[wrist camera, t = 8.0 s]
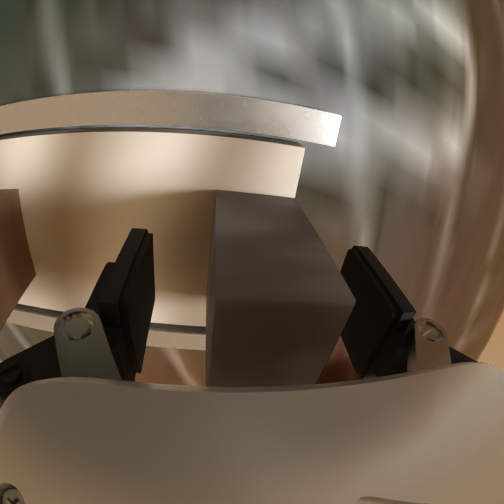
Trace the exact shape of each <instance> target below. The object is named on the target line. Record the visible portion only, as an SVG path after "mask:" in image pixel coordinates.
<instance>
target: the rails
mask: <svg viewBox="0 0 504 504" xmlns="http://www.w3.org/2000/svg"><path fill="white" fill-rule="evenodd" d="M341 117H342V116H341V115H337V114H334V113H330V112H327V111H322V110H318V109H313V108H309V107H304V106H299V105H294V104H288V103H283V102H277V101H271V100H265V99H258V98H251V97H243V96H235V95H226V94H216V93H204V92H189V91H166V90H123V91H101V92H87V93H76V94H66V95H58V96H50V97H43V98H37V99H31V100H25V101H20V102H15V103H10V104H5V105H1V106H0V134H4V133H11V132H18V131H26V130H35V129H44V128H55V127H69V126H86V125H167V126H186V127H201V128H213V129H223V130H233V131H242V132H250V133H258V134H265V135H272V136H278V137H285V138H291V139H297V140H302V141H308V142H313V143H319V144H324V145H329V146H333V147H335V144H336V140H337V135H338V131H339V126H340V122H341ZM62 313H64V312H63V311H57V310H51V309H45V308H39V307H34V306H28V305H23V304H18V303H17V305H16V306H15V308H14V309H13V311H12V313H11V314H10V316H9V318H8V319H7V321H6V322H9V323H13V324H18V325H22V326H26V327H31V328H35V329H40V330H45V331H50V332H54V324H55V321H56V319H57V318H58V317H59V316H60V315H61V314H62ZM146 346H155V347H166V348H179V349H193V350H206V326H190V325H176V324H163V323H152V322H150V327H149V332H148V337H147V343H146Z"/></svg>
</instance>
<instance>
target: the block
mask: <svg viewBox="0 0 504 504" xmlns="http://www.w3.org/2000/svg"><path fill="white" fill-rule="evenodd" d="M35 276H36V272H35V268H34V265H33V261H32V257H31V253H30V249H29V245H28V240H27V236H26V231H25V226H24V221H23V216H22V210H21V204H20V197H19V190H18V189H0V331H1V330H2V328H3V326H4V325H5V323H6V321H7V319H8V318H9V316H10V314H11V313H12V311H13V309H14V308H15V306H16V305H17V303H18V302H19V300H20V298H21V297H22V295H23V294H24V292H25V291H26V289H27V288H28V286H29V285H30V283H31V282H32V280H33V279H34V278H35Z"/></svg>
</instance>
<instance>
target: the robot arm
mask: <svg viewBox="0 0 504 504" xmlns="http://www.w3.org/2000/svg"><path fill="white" fill-rule="evenodd" d="M340 273H341V275H342V276H343V278H344V280H345V282H346V283H347V285H348V287H349V289H350V291H351V292H352V294H353V296H354V298H355V299H356V303H355V305H354V307H353V310H352V312H351V314H350V316H349V318H348V320H347V323H346V325H345V327H344V329H343V331H342V333H341V338H342V340H343V342H344V345H345V347H346V349H347V352H348V354H349V357H350V359H351V361H352V364H353V366H354V369H355V371H356V372H358V373H359V374H360V377H361V379H360V380H352V381H343V382H334V383H323V384H311V385H296V386H274V387H206V386H185V385H169V384H155V383H143V382H133V381H134V380H135V374H136V373H141V370H142V365H143V359H144V354H145V348H146V343H147V337H148V332H149V327H150V322H151V317H152V313H153V308H154V303H155V276H154V249H153V233H148V230H147V229H140V228H132V229H131V231H130V233H129V235H128V237H127V239H126V241H125V243H124V245H123V247H122V249H121V251H120V253H119V255H118V257H117V259H116V261H115V262H107V263H106V265H105V267H104V269H103V271H102V273H101V275H100V277H99V279H98V281H97V283H96V285H95V287H94V289H93V291H92V293H91V295H90V298H89V300H88V302H87V304H86V306H85V308H82V307H79V308H72V309H70V310H67V311H65V312H64V313H62V314H61V315H60V316H59V317H58V318H57V319H56V321H55V324H54V336H52V337H50V338H48V339H46V340H44V341H42V342H40V343H38V344H36V345H34V346H32V347H30V348H28V349H26V350H24V351H22V352H20V353H18V354H16V355H14V356H12V357H10V358H8V359H6V360H4V361H3V362H2V363H0V504H504V371H503V370H502V369H501V368H499V367H497V366H495V365H492V364H488V363H483V362H477V361H475V360H473V359H471V358H469V357H467V356H466V355H464V354H462V353H460V352H458V351H457V350H455V349H453V348H451V347H449V346H448V340H447V335H446V333H445V331H444V329H443V328H442V327H441V326H440V325H439V324H438V323H436V322H435V321H433V320H431V319H427V318H419V319H417V320H416V322H415V321H414V319H413V317H414V316H415V314H416V311H415V309H414V308H413V306H412V305H411V304H410V302H409V301H408V299H407V298H406V297H405V295H404V294H403V292H402V291H401V290H400V288H399V287H398V286H397V284H396V283H395V282H394V280H393V279H392V278H391V276H390V275H389V274H388V272H387V271H386V270H385V268H384V267H383V266H382V264H381V263H380V262H379V261H378V259H377V258H376V257H375V255H374V254H373V253H372V252H371V250H370V249H369V248H368V247H362V246H353V247H352V249H349V250H348V252H347V255H346V257H345V260H344V263H343V266H342V269H341V272H340ZM375 376H376V377H375Z"/></svg>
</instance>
